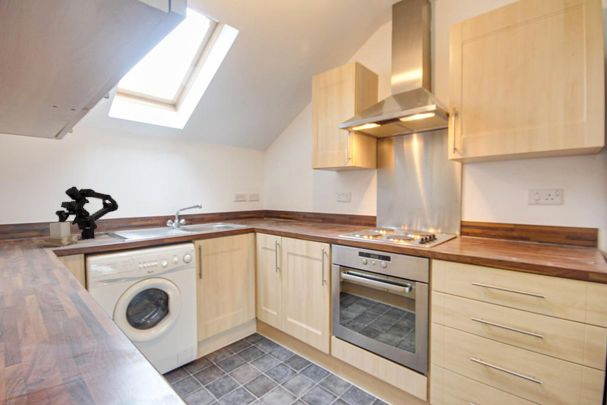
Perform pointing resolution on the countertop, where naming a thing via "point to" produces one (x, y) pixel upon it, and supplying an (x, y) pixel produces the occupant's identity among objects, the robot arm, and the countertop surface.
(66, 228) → the grey tote
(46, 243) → the beech crate
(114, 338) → the countertop surface
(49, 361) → the countertop surface
